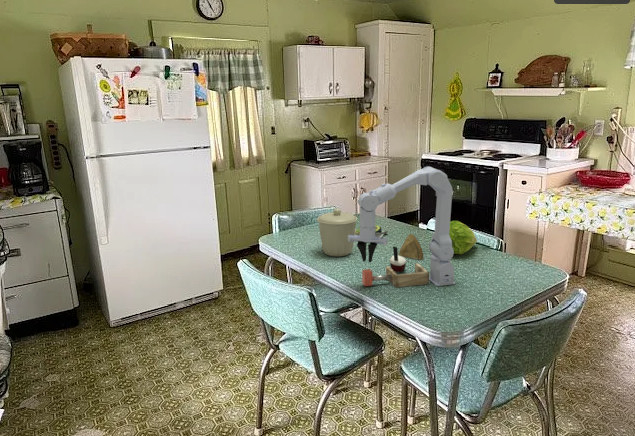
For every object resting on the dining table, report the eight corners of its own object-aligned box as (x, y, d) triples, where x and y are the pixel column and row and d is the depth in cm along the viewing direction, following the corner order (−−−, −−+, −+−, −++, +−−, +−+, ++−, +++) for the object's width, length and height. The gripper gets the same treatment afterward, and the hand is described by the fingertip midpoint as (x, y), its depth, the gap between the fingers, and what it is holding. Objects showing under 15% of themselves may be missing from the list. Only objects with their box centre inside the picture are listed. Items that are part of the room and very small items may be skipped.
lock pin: (391, 283, 174) (392, 269, 172) (364, 286, 171) (364, 272, 170) (389, 280, 176) (389, 267, 175) (362, 283, 174) (362, 269, 173)
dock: (428, 283, 174) (429, 272, 173) (395, 287, 171) (395, 276, 170) (417, 273, 183) (417, 263, 182) (385, 277, 181) (386, 266, 180)
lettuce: (456, 250, 221) (484, 262, 209) (423, 245, 206) (450, 257, 194) (466, 221, 219) (495, 231, 206) (433, 213, 204) (462, 224, 191)
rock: (430, 254, 199) (420, 244, 208) (421, 241, 195) (411, 231, 204) (411, 269, 199) (401, 259, 208) (401, 257, 195) (392, 247, 204)
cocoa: (398, 266, 192) (399, 239, 189) (410, 270, 188) (411, 242, 185) (383, 272, 186) (384, 244, 183) (395, 276, 182) (396, 247, 178)
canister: (336, 262, 198) (335, 215, 192) (309, 252, 211) (308, 208, 206) (365, 253, 209) (365, 208, 203) (339, 244, 222) (338, 201, 217)
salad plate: (380, 244, 222) (381, 235, 221) (345, 241, 228) (345, 232, 227) (389, 233, 239) (389, 224, 238) (356, 230, 245) (356, 222, 244)
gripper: (389, 224, 168) (389, 259, 172) (351, 221, 173) (352, 255, 177) (385, 230, 162) (384, 266, 165) (346, 226, 167) (346, 261, 171)
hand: (367, 261), depth 171 cm, fingers closed
